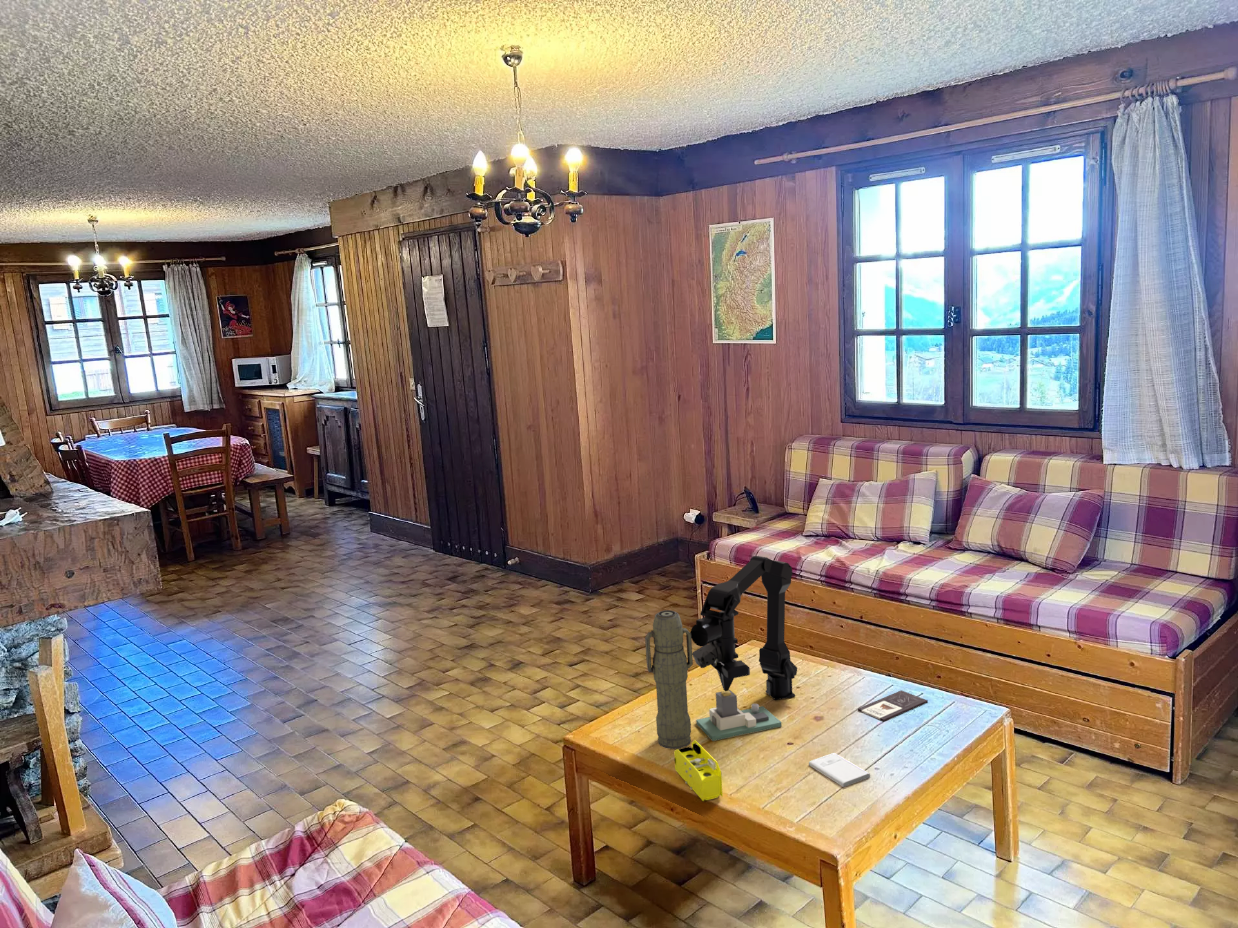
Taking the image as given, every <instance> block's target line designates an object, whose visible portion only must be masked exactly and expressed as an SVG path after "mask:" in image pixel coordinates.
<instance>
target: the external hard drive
mask: <svg viewBox="0 0 1238 928" xmlns="http://www.w3.org/2000/svg"><path fill="white" fill-rule="evenodd" d="M808 765H809V767H811V768H813V770H816V771H817V772H819V773H820V774H822V775H824V776H825V777H826V778H828V779H830V780H832V781H833V782H835V783H836V784H837V785H839V786H841V787H842V788H845V787H847V786H850V785H851V786H852V785H853V784H855V783H858V782H861V781H865V780H866V779H867V780H868V779H869V778H871V773H869V772H868V771H866V770H865V769H863V768H861V767H860V766H858V765H856V764H854V763H853V762H851V761H849V760H848V759H846V758H844V757H843V756H841V755H839V754H838V753H836V752H832V753H829V754H825V755H824V756H820V757H818V758H814V759H812V760H810V761H809V762H808Z"/></svg>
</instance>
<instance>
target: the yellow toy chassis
mask: <svg viewBox="0 0 1238 928" xmlns="http://www.w3.org/2000/svg"><path fill="white" fill-rule="evenodd" d="M673 753H674V754H673V755H674V770H675V772H677V774H678V775H679V776H680V777H681V779H682V780H684V782H685V785H688V787H689V788H690V790H693V792H694V793H695V794H696V795H697V796H698V797H699V799H700V800H701V802H705V801H709V800H713V799H718V798H719V797H720V796H721V797H723V777H722V770H721V768H720V765H719V762H718V761H717V760H716V759H715V758H714V757H713V756H712V755H711V754H710V753H709V752H708V751H707V750H706V749H705V748H704V747H703V746H702V745H701V744H700V743H699V742H698V741H697V740H696V739H694V740H693V741H691V747H690V746H686V747H684V748H680V749H674V750H673Z"/></svg>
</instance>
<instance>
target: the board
mask: <svg viewBox="0 0 1238 928" xmlns="http://www.w3.org/2000/svg"><path fill="white" fill-rule="evenodd" d="M750 706H751V708H747V709H742V710H740V709H739V708H738V707H737V715H734V716H729V717H724V718H721V717H720V716H719V715H718V714H717V710H716V707H712V708H709V709H708V711H709V712H708V713H709V716H708V717H701V718H698V719H697V718H696V719H695V725H697V726H698V728H700V729H701V731H703V733H704V734H705V735H706V736H707V737H708V738H709V739H710V740H711V741H712V742H715V741H719V740H720V741H721V740H723V739H729V738H734V737H738V736H742V735H743V736H744V735H747V734H753V733H757V732H762V731H767V730H771V729H776V728H781V727H783V726H782V724H783V723H782V721H781V720H779V719H778V718H777V717H776V716H775V715H774V714H773V713H772V712H770V711H769V710H768V709H767V708H765V706H763V705H761V706H760V705H759V704H758V703H752V704H750Z"/></svg>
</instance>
